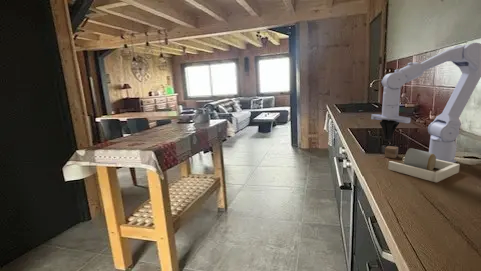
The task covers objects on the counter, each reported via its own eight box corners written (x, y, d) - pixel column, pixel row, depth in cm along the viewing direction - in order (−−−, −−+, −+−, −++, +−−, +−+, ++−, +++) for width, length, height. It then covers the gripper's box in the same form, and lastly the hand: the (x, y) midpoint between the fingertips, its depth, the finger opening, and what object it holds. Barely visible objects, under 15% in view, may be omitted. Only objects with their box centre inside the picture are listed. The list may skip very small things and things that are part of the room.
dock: (411, 161, 105) (411, 154, 105) (458, 172, 92) (459, 164, 91) (388, 169, 98) (388, 161, 97) (436, 182, 85) (437, 173, 84)
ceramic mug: (428, 175, 90) (431, 154, 89) (402, 170, 96) (404, 149, 95) (438, 168, 97) (440, 148, 95) (413, 163, 103) (415, 144, 101)
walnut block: (387, 154, 115) (388, 145, 115) (397, 156, 113) (398, 147, 112) (384, 156, 113) (385, 147, 112) (394, 158, 110) (395, 149, 109)
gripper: (367, 104, 106) (365, 137, 109) (404, 107, 93) (401, 144, 96) (377, 103, 109) (375, 134, 112) (415, 105, 97) (411, 141, 100)
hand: (388, 139), depth 104 cm, fingers closed
